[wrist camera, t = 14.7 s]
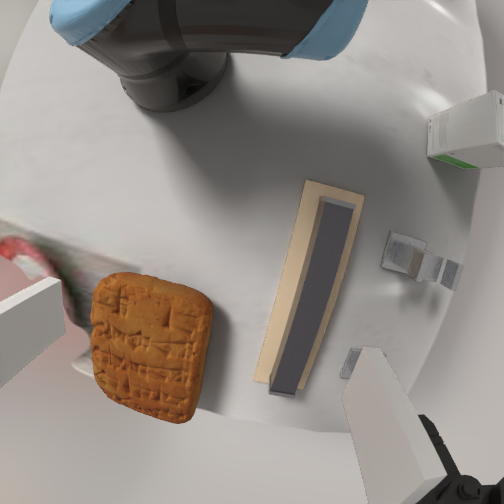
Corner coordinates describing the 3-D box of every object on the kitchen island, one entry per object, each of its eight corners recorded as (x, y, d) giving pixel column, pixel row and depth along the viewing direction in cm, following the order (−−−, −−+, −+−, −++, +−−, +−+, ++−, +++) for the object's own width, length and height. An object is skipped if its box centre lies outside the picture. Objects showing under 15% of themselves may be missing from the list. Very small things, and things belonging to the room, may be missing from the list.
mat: (305, 179, 35) (305, 179, 35) (363, 195, 35) (364, 195, 35) (253, 378, 42) (253, 380, 41) (302, 387, 42) (303, 389, 41)
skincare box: (425, 156, 33) (495, 144, 18) (426, 114, 32) (492, 85, 17) (466, 170, 33) (538, 169, 18) (468, 131, 32) (535, 115, 17)
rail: (319, 195, 35) (325, 196, 31) (346, 203, 35) (356, 204, 31) (268, 377, 41) (268, 394, 37) (292, 381, 41) (293, 398, 37)
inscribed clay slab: (199, 404, 44) (188, 436, 36) (109, 372, 44) (88, 397, 36) (226, 288, 39) (215, 311, 31) (115, 255, 39) (85, 269, 31)
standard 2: (389, 230, 36) (427, 244, 26) (424, 241, 36) (465, 257, 26) (379, 265, 37) (413, 290, 27) (414, 274, 37) (452, 299, 27)
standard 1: (350, 348, 40) (370, 389, 29) (384, 352, 40) (409, 392, 29) (339, 374, 41) (354, 418, 30) (372, 378, 41) (392, 419, 30)
